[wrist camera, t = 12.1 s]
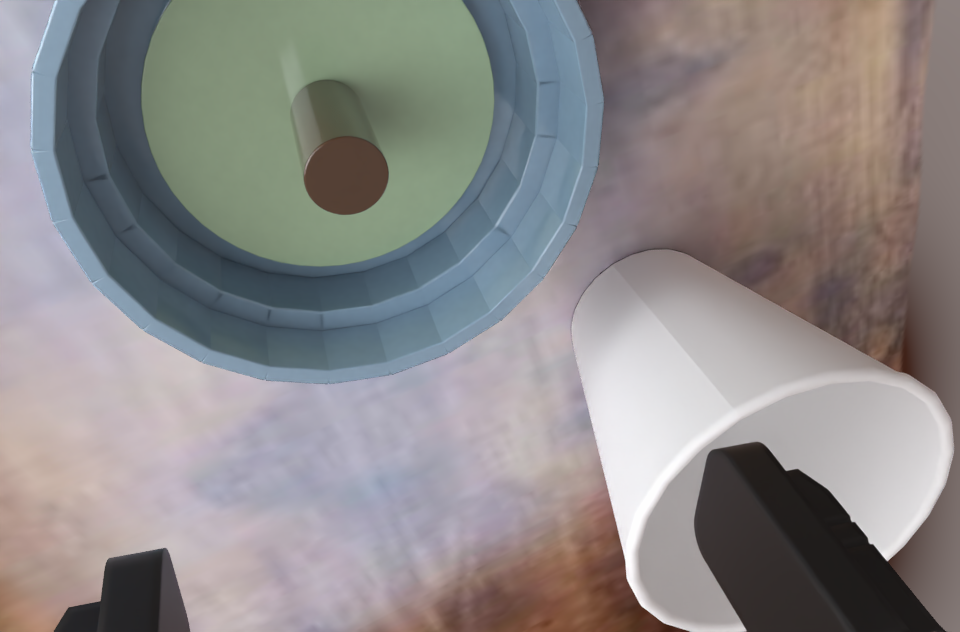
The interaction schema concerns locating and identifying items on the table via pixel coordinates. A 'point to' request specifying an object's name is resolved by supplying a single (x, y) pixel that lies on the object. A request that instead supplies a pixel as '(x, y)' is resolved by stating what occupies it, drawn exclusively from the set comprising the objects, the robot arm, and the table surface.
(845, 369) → the cup
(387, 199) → the lid
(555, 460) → the table surface
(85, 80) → the bowl
